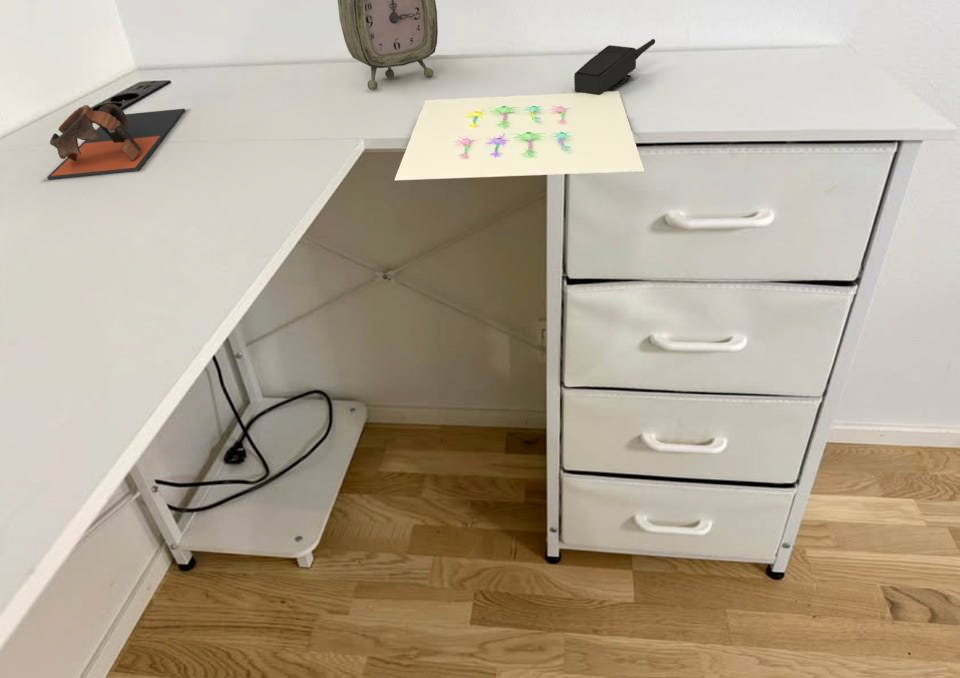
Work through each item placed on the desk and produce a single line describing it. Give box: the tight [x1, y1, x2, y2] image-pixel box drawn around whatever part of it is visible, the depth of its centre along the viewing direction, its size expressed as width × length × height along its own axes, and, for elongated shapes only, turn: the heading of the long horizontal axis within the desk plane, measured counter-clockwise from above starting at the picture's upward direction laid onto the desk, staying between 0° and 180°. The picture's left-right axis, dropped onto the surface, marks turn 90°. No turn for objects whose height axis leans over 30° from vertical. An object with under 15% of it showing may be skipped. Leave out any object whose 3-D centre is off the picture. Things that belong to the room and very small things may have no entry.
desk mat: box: [46, 108, 186, 181], centre depth 102 cm, size 12×26×1 cm, turn 6°
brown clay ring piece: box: [49, 102, 140, 161], centre depth 94 cm, size 12×10×8 cm
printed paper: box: [394, 90, 645, 181], centre depth 93 cm, size 30×30×2 cm
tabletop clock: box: [337, 0, 439, 91], centre depth 112 cm, size 14×9×25 cm, turn 120°
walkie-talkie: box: [573, 38, 656, 95], centre depth 109 cm, size 6×6×20 cm
